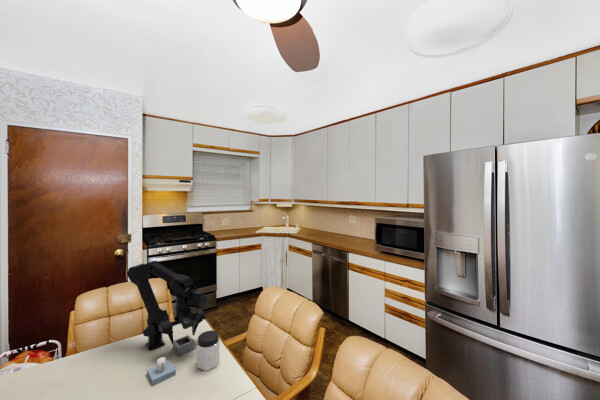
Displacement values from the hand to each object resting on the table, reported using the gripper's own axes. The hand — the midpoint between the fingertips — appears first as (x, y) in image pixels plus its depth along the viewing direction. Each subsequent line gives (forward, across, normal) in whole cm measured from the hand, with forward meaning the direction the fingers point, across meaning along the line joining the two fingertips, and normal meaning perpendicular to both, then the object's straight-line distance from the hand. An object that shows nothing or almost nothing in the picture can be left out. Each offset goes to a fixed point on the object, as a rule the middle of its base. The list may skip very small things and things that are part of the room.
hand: (183, 339), depth 112 cm
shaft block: (+5, -12, -10) cm, 16 cm away
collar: (+5, 0, 0) cm, 5 cm away
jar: (+5, +4, -17) cm, 18 cm away
